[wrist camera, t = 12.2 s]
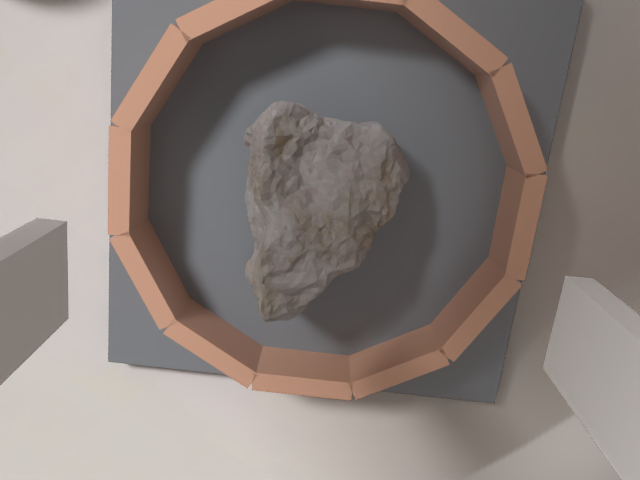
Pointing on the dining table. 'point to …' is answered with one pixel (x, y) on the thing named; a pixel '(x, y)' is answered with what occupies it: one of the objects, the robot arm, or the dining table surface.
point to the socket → (390, 240)
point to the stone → (314, 201)
